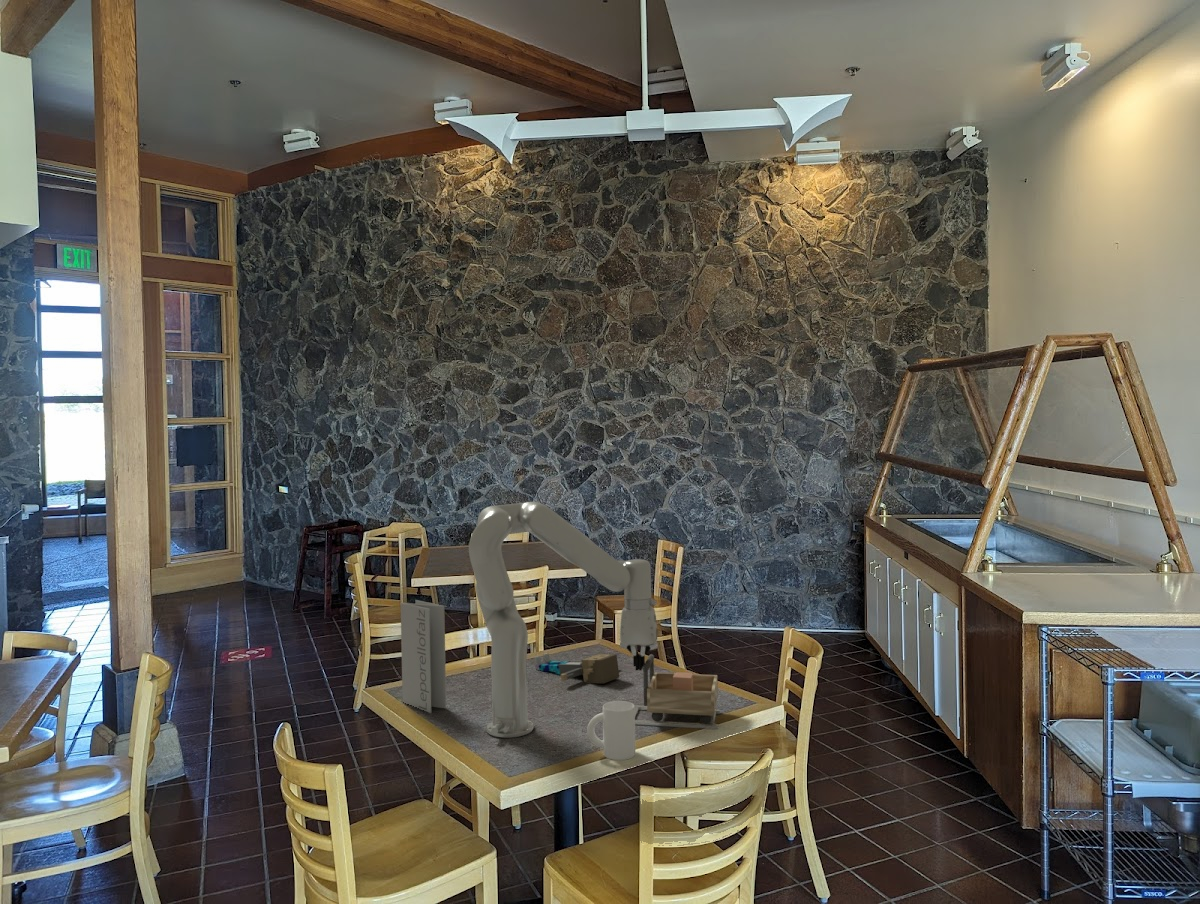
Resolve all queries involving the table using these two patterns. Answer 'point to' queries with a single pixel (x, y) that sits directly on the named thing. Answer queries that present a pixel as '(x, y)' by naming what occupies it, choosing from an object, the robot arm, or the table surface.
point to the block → (683, 681)
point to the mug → (615, 730)
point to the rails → (676, 724)
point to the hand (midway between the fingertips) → (639, 668)
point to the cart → (679, 694)
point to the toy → (582, 668)
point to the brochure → (423, 655)
